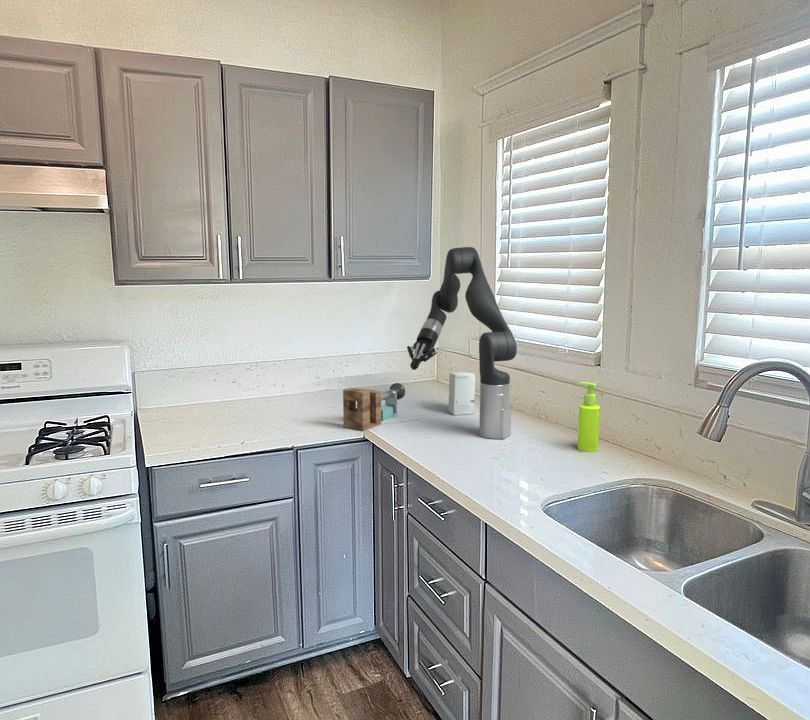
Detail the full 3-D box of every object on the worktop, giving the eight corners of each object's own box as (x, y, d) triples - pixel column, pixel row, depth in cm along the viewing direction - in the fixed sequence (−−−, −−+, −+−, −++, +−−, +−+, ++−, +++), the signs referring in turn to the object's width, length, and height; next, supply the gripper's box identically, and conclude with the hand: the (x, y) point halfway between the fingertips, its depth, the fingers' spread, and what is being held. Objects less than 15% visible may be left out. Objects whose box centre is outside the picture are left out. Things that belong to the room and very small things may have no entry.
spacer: (393, 418, 217) (393, 407, 216) (383, 421, 212) (382, 410, 211) (381, 416, 220) (381, 405, 219) (371, 419, 215) (371, 408, 214)
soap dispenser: (578, 444, 186) (581, 379, 182) (600, 448, 181) (604, 382, 178) (570, 448, 181) (573, 383, 178) (593, 453, 177) (596, 386, 174)
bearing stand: (381, 424, 208) (380, 386, 206) (362, 431, 199) (362, 392, 197) (362, 420, 212) (362, 384, 210) (343, 427, 204) (343, 389, 202)
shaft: (405, 411, 222) (405, 383, 221) (372, 423, 205) (371, 394, 204) (391, 409, 226) (391, 382, 224) (357, 421, 208) (357, 392, 207)
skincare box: (453, 415, 219) (454, 375, 217) (447, 411, 225) (448, 372, 222) (475, 413, 222) (475, 373, 219) (468, 410, 227) (469, 371, 225)
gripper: (411, 325, 239) (394, 361, 231) (441, 328, 232) (424, 364, 224) (418, 337, 244) (402, 372, 236) (447, 340, 237) (431, 376, 229)
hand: (413, 368), depth 230 cm, fingers closed
